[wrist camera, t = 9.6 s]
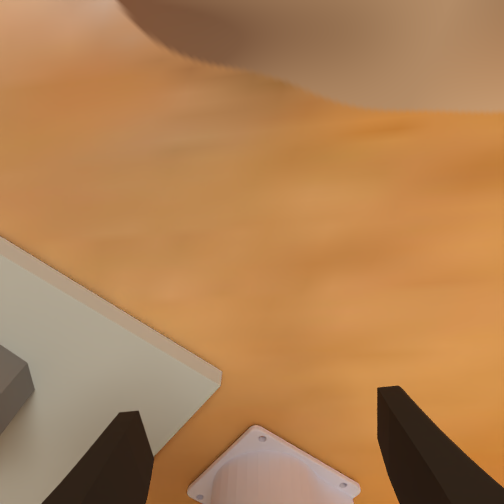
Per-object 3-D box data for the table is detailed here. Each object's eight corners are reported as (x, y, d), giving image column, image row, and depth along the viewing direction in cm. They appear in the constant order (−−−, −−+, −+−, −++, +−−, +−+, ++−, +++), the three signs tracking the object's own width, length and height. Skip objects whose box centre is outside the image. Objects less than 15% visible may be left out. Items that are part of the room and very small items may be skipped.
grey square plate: (222, 371, 22) (215, 429, 18) (80, 524, 28) (52, 593, 24) (-38, 213, 19) (-115, 243, 15) (-142, 425, 24) (-218, 488, 20)
